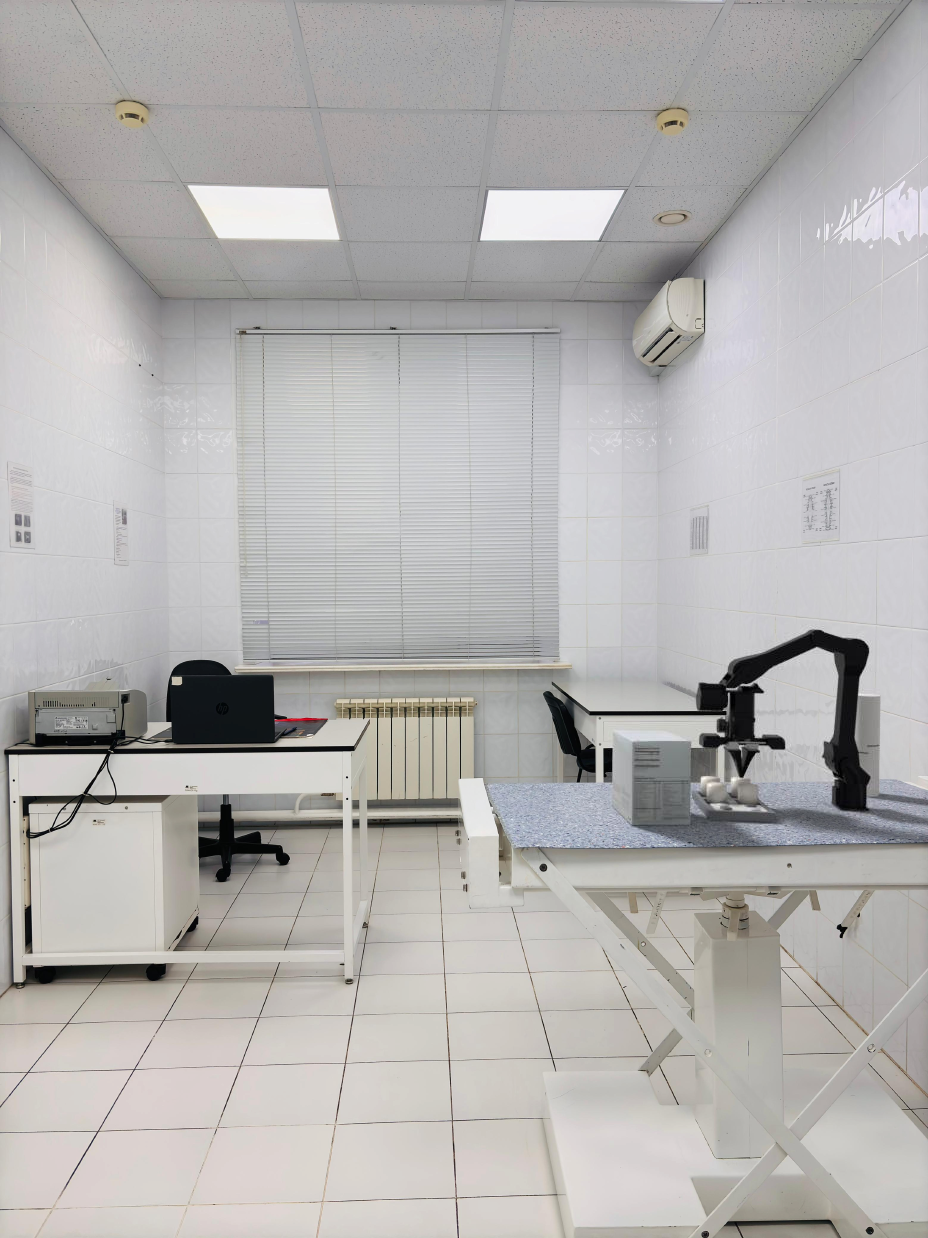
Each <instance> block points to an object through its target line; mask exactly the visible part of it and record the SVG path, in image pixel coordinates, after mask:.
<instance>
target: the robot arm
mask: <svg viewBox="0 0 928 1238" xmlns="http://www.w3.org/2000/svg"><path fill="white" fill-rule="evenodd" d="M816 648H817V649H818V648H819V649H821V650H823V651H825V652H828V653H832V654H833V659H834V665H835V668H836V671H837V676H838V677H837V688H836V689H837V690H836V699H835V700H836V702H835V714H834V727H833V735H832V737H831V738H830V741H827V740H824V741H823V745H822V746H823V753H822V755H821V758H822V759H823V760H824V764H825V766H826V767H827V769H828V770H830V771H831V773H832V776H833V778H835V779H834V781H833V784H834V785H832V786H831V805H832V806H834V807H836V808H837V809H839V810H840V811H868V812H869V811H870V808H869V807H868V805H867V803H868V802H867V800H868V798H867V785H868V783H869V781H870V778H871V777H870V776H869V775H868V774H867V773H866V772H865V771H864V770H863V769H862V768H861V767H860V760H859V751H858V748H857V744H856V741H855V728H856V716H857V703H858V693H859V690H860V689H859V687H860V680H861V676H862V674H863V672H864V670H865V668H866V667H867V662H868V659H869V655H870V647H869V645H868V644H867V642H865V640H863V639H861V638H855V637H854V638H853V637H841V636H838V635H835V634H831V633H829V632H826V631H824V630H822V629H816V628H815V629H809V630H808V631H806V632H805V633H803V634H800V635H798V636H796V637H793V638H792V639H789V640H787V641H784V642H782V643H780V644H779V645H776V646H774V647H772V648H769V649H767V650H765V651H763V652H760V653H755V654H751V655H746V656H742V657H738V658H735V659H733V660H731V661H730V662H729V664H728V666H727V672H726V673H725V674H724V676H723V677H722V678H721V680H720V681H718V683H709V682H703V681H702V682H701V681H700V682H699V681H698V687H697V690H696V695H695V705H696V709H697V712H723V711H724V710H725V709H727V708H728V706H729V708H728V709H729V710H728V717H727V720H726V719H725V718H717V719H716V733H712V732H711V733H710V732H701V734H700V735H699V737H698V744H699V746H701V747H702V748H703V749H718V748H720V746H721V745H722V747H723V750H724V751H726V752H728V753H729V754H730V756H731V758H732V760H733V763H734V766H735V770H736V772H737V777H739V778H743V777H744V778H745V776H746V773H747V770H748V768H749V766H750V764H751V762H752V760H753V759H754V758H755V756H756V754H760V753H761V750H760V749H759V747H760V746H762V747H764V746H765V747H769V748H770V749H771V750H773V751H774V750H776V751H778V750H779V751H780V750H781V751H782V750H783V751H784V750H786V741H785V738H784V737H782V736H781V735H778V734H766V733H764V734H762V736H761V737H756V735H755V723H756V714H755V709H756V695H755V694H764V693H765V690H763V689H762V688H761V687H760V686H759V684H758V683H757V682H755V681H756V680H758V679H760V678H761V677H763V676H764V675H765V673H767V672H768V671H769V670H770V669H772V668H774V667H776V666H778V665H780V664H782V663H785V662H787V661H790V660H791V659H794V658H796V657H798V656H800V655H803V654H805V653H807V652H809V651H811V650H813V649H816ZM749 684H751V685H749ZM736 688H737V689H736ZM719 734H724V736H720V735H719ZM740 746H741V749H740V748H739V747H740Z"/></svg>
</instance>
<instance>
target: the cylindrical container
mask: <svg viewBox="0 0 928 1238" xmlns="http://www.w3.org/2000/svg"><path fill="white" fill-rule="evenodd" d="M880 739H881V695H880V694H876V693H873V694H872V693H860V692H858V703H857V716H856V728H855V741H856V744H857V748H858V751H859V760H860V767H861V768H862V769H863V770H864V771H865V772H866V773H867V774H868V775H869V776H870V777H871V778H870V781H869V783H868V785H867V797H868V798H874V797H875V798H876V797H878V796H880V757H881V756H880V755H881V754H880V751H881V750H880V748H881V747H880V744H881V741H880Z"/></svg>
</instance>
